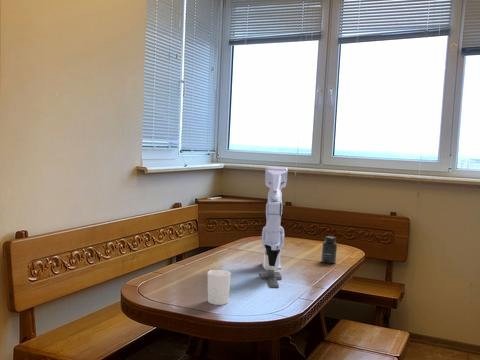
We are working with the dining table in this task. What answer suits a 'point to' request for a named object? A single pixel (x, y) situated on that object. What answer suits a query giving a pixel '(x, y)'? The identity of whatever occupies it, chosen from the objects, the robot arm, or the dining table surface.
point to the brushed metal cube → (266, 263)
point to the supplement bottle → (329, 250)
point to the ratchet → (271, 277)
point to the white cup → (218, 286)
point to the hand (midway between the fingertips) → (271, 264)
